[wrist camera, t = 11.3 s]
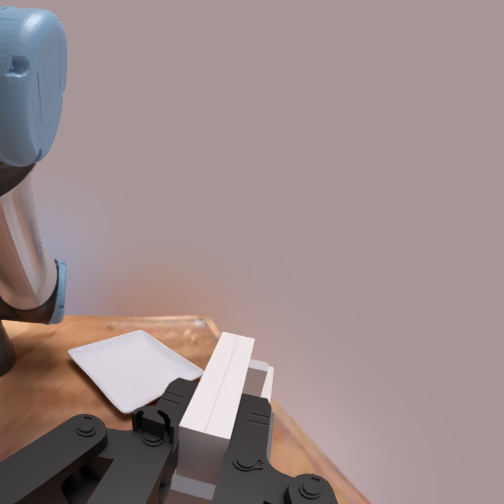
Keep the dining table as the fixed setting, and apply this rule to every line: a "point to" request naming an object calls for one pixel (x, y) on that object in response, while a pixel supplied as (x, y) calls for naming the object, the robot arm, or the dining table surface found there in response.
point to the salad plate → (132, 368)
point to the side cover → (258, 379)
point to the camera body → (199, 484)
